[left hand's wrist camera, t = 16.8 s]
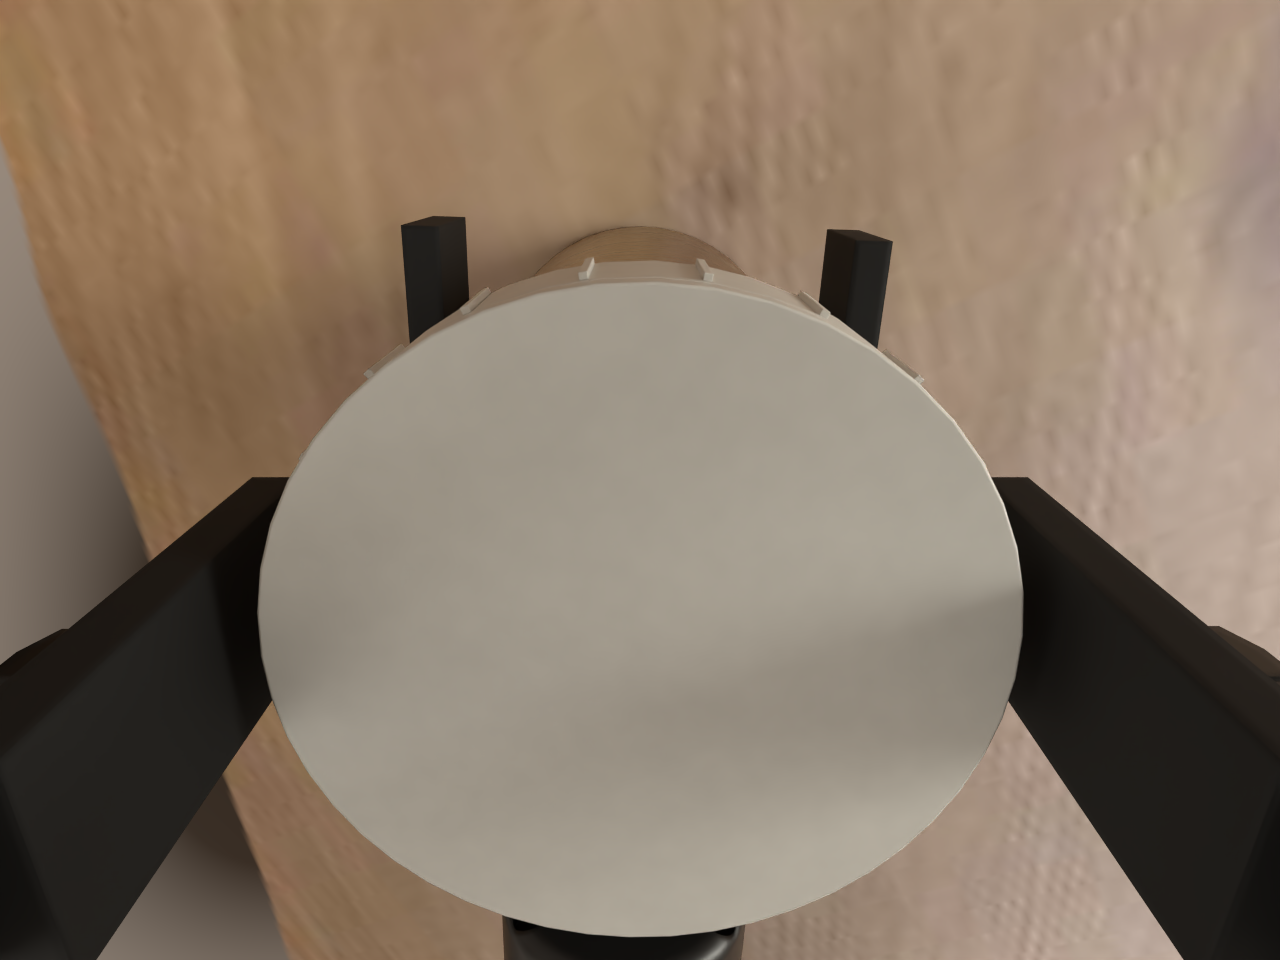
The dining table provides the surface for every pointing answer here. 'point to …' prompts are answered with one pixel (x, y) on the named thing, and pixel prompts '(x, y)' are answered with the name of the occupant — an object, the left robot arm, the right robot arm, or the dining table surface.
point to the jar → (640, 249)
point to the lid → (640, 602)
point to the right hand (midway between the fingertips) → (646, 228)
